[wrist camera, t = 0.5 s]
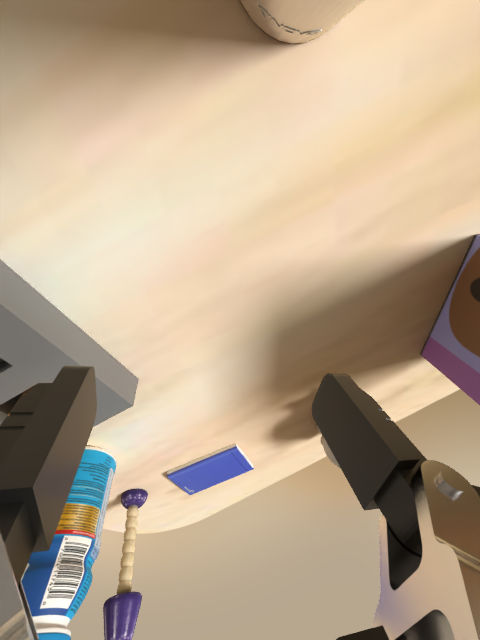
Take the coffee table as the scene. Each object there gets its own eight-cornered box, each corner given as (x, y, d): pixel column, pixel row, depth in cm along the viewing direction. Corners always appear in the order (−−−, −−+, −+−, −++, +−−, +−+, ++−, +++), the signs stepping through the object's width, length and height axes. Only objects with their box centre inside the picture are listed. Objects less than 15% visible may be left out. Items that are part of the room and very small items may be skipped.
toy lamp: (143, 484, 44) (125, 638, 30) (156, 496, 46) (144, 641, 33) (116, 494, 44) (85, 651, 30) (130, 504, 46) (108, 653, 33)
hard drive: (190, 496, 47) (254, 470, 46) (166, 477, 42) (236, 448, 41) (190, 487, 48) (252, 461, 47) (167, 468, 43) (235, 439, 43)
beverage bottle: (124, 470, 41) (85, 688, 24) (66, 481, 40) (-17, 718, 23) (108, 438, 36) (45, 680, 20) (42, 449, 35) (-85, 718, 18)
